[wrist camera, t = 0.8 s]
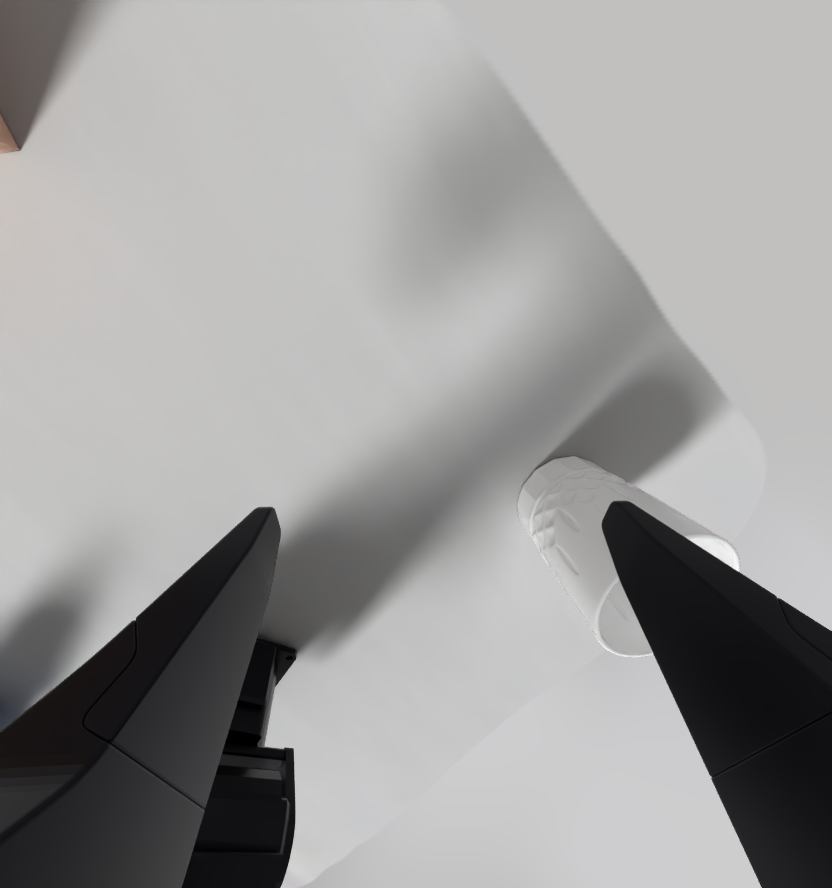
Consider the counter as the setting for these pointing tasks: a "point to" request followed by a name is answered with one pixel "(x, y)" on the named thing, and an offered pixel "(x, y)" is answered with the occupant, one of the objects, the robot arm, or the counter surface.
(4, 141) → the terracotta cover
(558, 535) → the white cup
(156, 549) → the counter surface
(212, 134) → the counter surface
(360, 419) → the counter surface
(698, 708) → the robot arm
